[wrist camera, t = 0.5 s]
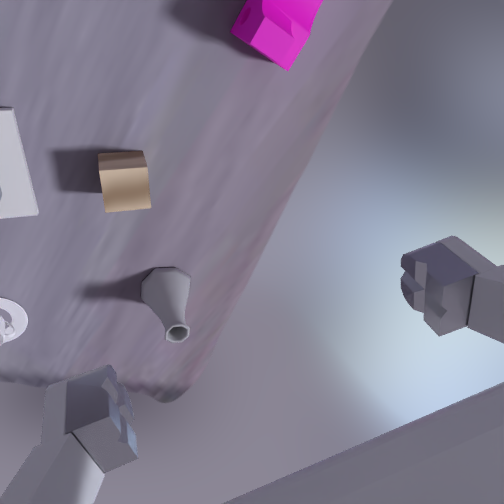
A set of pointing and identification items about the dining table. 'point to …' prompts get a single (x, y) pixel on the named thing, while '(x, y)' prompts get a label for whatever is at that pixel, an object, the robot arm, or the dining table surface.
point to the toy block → (276, 27)
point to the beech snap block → (124, 181)
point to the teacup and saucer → (17, 323)
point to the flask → (168, 300)
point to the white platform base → (14, 171)
